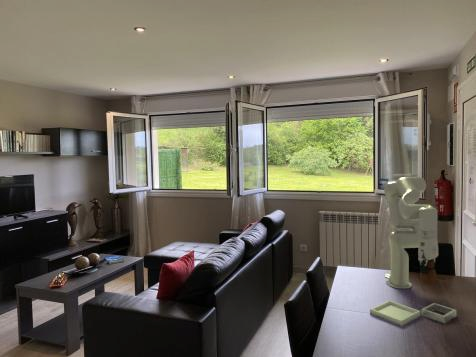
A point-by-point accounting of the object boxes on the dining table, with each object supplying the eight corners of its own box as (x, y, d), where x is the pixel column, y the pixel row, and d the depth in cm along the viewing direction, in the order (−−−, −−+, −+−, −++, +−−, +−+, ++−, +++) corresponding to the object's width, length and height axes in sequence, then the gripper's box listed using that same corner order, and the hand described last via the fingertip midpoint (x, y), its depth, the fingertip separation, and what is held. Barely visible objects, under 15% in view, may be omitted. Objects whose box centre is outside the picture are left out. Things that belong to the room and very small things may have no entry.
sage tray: (370, 313, 174) (370, 308, 174) (389, 305, 183) (389, 300, 183) (401, 326, 161) (401, 321, 161) (420, 316, 170) (420, 311, 170)
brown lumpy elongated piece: (439, 284, 167) (439, 253, 166) (429, 286, 165) (429, 254, 164) (427, 280, 173) (427, 249, 172) (417, 281, 172) (417, 250, 171)
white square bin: (421, 315, 171) (421, 309, 171) (433, 308, 178) (433, 302, 177) (444, 323, 163) (444, 317, 162) (456, 316, 169) (456, 310, 169)
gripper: (426, 238, 160) (426, 278, 161) (445, 232, 170) (444, 269, 171) (410, 235, 166) (410, 273, 167) (428, 229, 176) (428, 265, 177)
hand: (427, 271), depth 169 cm, fingers closed on brown lumpy elongated piece, 6 cm apart
